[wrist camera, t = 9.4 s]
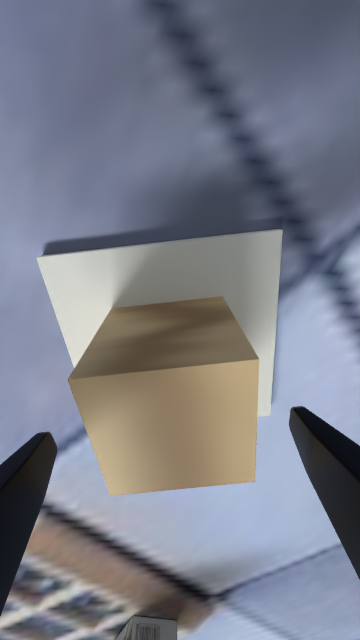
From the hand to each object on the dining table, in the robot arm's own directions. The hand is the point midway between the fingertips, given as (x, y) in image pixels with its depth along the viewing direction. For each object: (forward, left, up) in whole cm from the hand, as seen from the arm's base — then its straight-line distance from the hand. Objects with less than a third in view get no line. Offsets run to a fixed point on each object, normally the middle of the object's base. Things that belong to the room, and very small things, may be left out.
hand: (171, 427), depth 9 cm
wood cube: (0, 0, -6) cm, 6 cm away
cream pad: (0, 0, -6) cm, 6 cm away
